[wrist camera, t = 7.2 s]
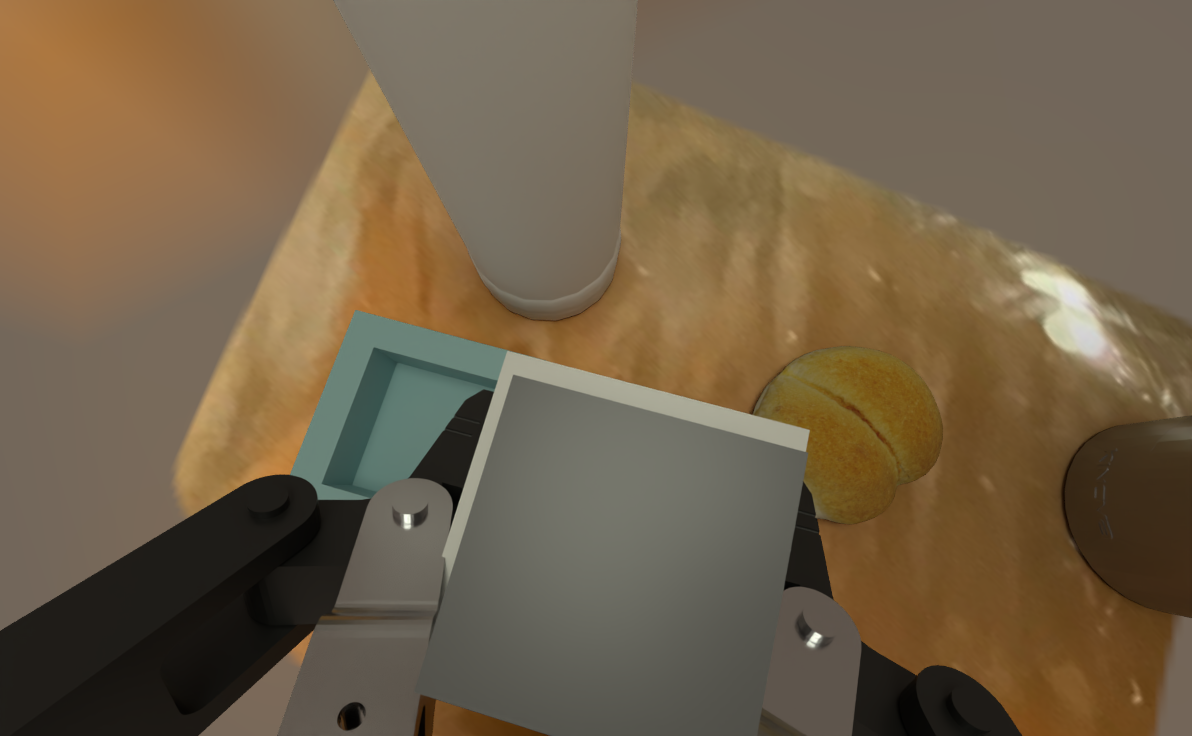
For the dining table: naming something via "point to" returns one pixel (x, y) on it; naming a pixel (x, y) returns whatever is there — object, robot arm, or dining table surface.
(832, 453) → the bread roll
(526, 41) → the bottle
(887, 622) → the dining table surface
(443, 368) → the end socket
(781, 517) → the block
